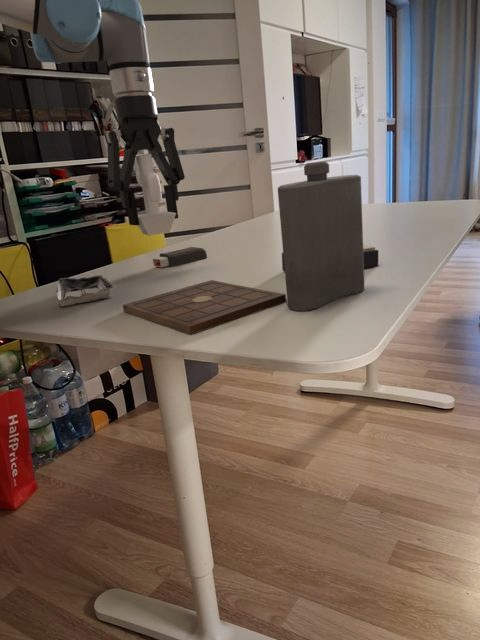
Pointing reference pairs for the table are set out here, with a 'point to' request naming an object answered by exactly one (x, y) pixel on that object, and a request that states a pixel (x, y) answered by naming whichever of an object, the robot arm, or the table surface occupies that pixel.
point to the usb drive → (180, 257)
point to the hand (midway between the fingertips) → (154, 221)
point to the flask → (321, 237)
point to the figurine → (151, 198)
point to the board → (203, 305)
